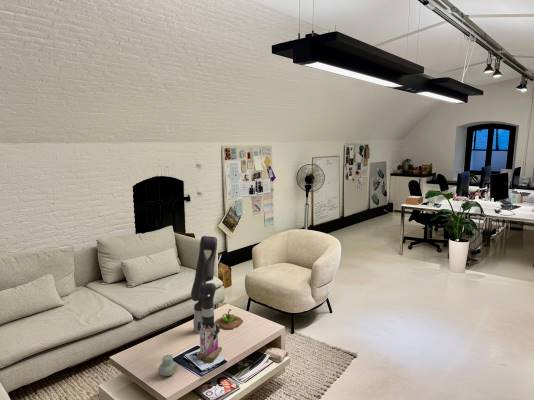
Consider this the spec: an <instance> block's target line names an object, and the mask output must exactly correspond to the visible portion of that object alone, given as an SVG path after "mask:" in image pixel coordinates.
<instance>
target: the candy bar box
mask: <svg viewBox="0 0 534 400" xmlns="http://www.w3.org/2000/svg"><path fill="white" fill-rule="evenodd" d="M214 327H215V326H214ZM214 327H213V328H212V329H214ZM215 329H216V328H215ZM218 347H219V333H218V334H217V338H216V339H215V340H214V336H213V332H212V331H211V330H210V329H209V328H207V327H205V328H201V329H200V334H199V348H200V350H199V352H200V353H201V354H203V355H207V354H209V353H211V352H213V351H214V350H216V349H218Z"/></svg>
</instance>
